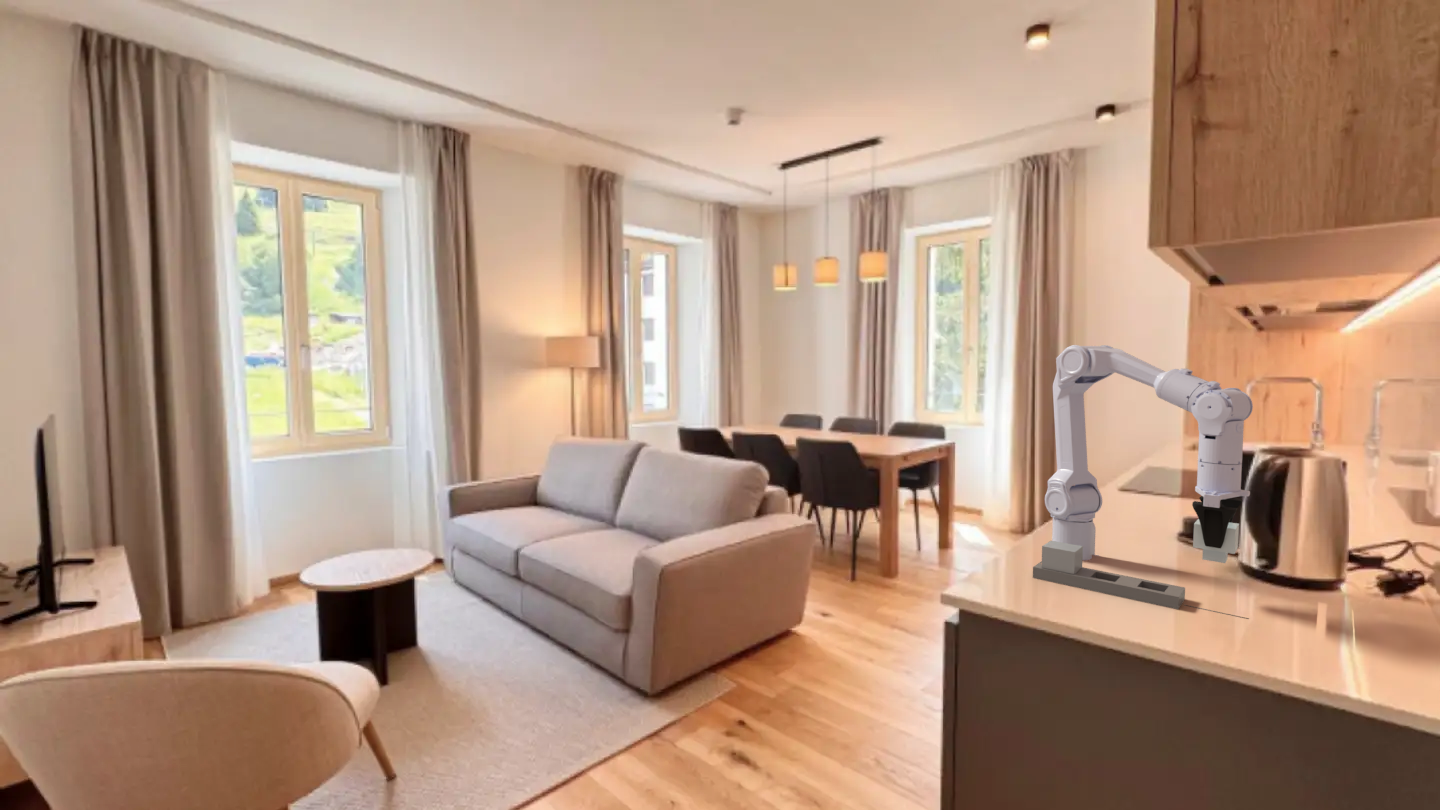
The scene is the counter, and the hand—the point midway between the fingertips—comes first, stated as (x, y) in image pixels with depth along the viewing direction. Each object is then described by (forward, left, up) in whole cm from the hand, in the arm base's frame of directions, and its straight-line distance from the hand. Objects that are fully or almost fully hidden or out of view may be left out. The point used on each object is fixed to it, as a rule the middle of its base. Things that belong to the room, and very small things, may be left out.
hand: (1215, 543), depth 106 cm
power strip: (+6, -10, -10) cm, 16 cm away
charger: (0, 0, -3) cm, 3 cm away
